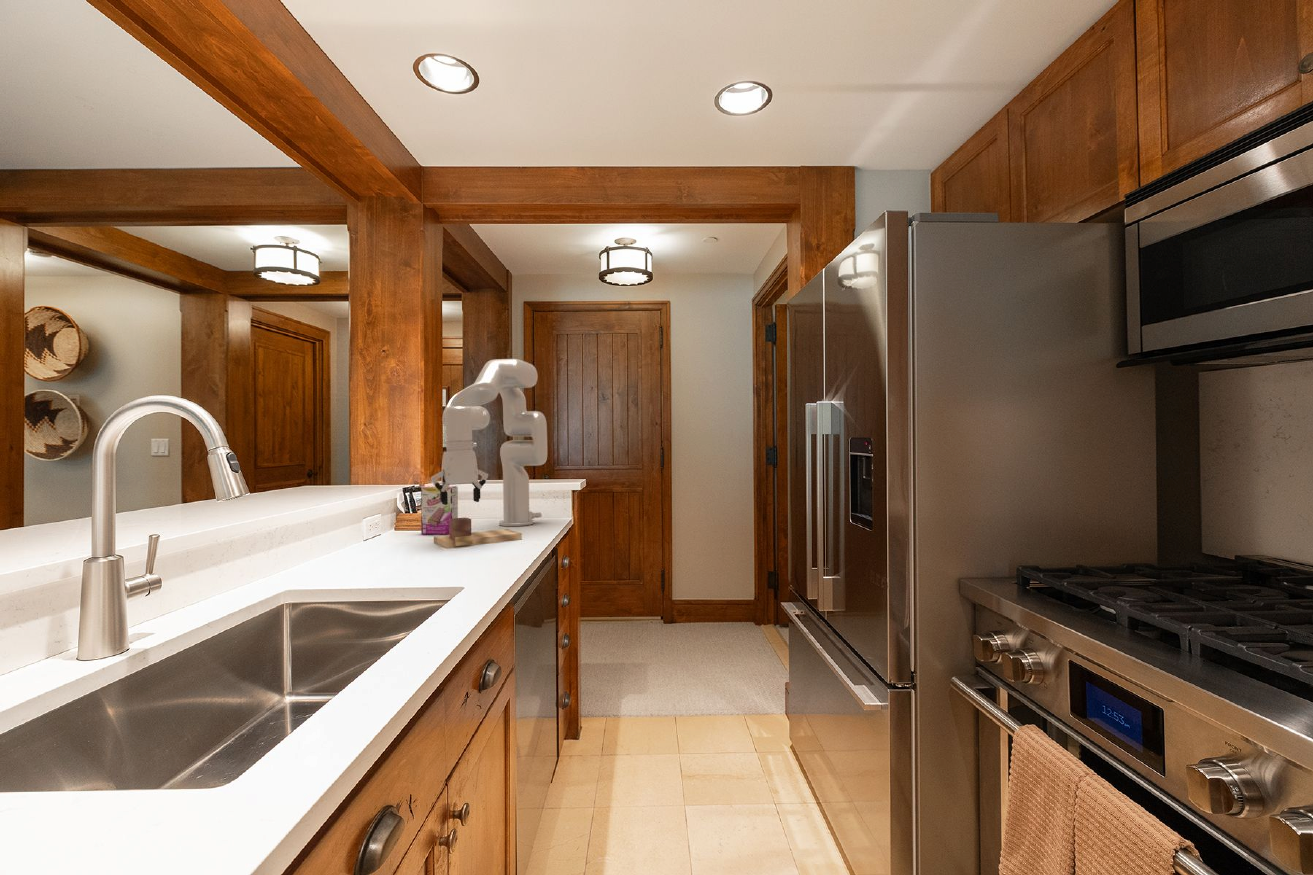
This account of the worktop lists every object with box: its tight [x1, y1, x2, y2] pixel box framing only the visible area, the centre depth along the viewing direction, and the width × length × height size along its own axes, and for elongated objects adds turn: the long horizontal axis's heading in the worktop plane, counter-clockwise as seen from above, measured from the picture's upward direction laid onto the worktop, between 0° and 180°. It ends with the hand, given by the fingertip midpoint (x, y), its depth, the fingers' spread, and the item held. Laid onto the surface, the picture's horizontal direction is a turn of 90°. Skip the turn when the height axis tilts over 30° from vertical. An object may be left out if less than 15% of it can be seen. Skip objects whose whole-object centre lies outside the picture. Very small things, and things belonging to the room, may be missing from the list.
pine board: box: [433, 528, 523, 549], centre depth 193 cm, size 24×12×2 cm, turn 126°
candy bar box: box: [420, 485, 459, 536], centre depth 208 cm, size 11×5×16 cm, turn 84°
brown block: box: [449, 516, 473, 547], centre depth 185 cm, size 5×6×8 cm
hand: (460, 502), depth 186 cm, fingers open, 9 cm apart
